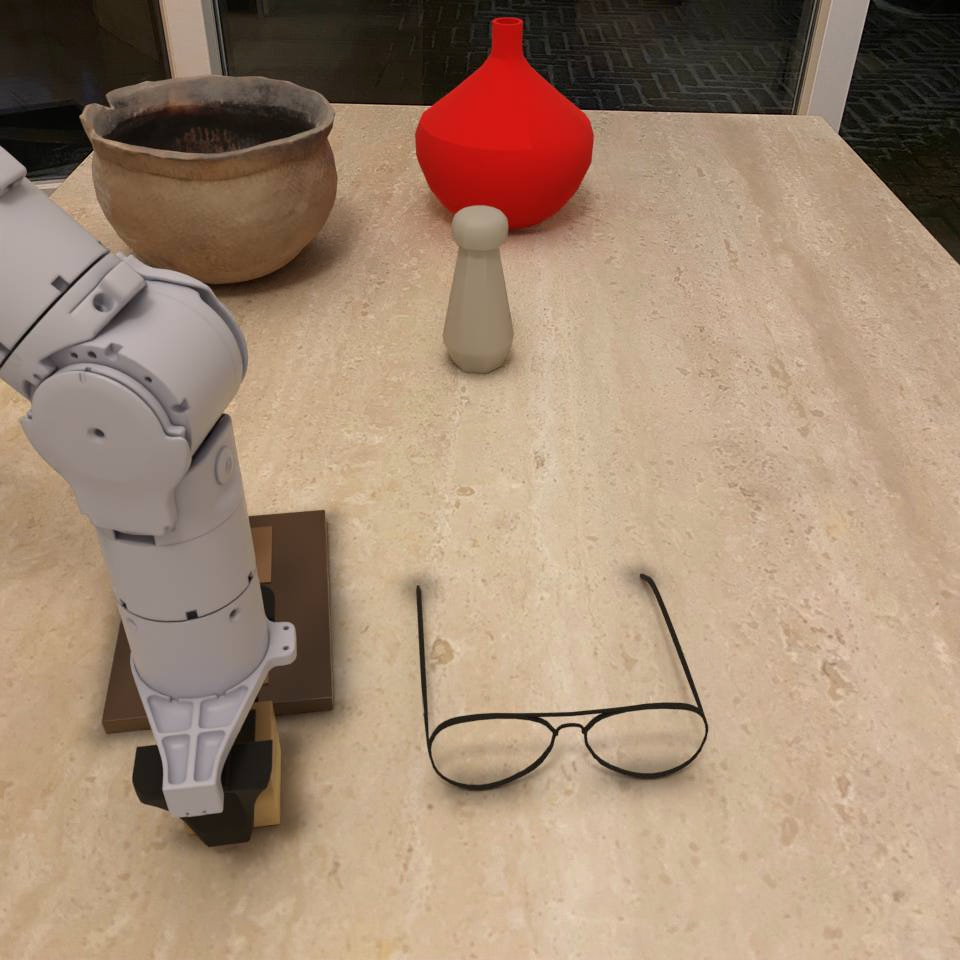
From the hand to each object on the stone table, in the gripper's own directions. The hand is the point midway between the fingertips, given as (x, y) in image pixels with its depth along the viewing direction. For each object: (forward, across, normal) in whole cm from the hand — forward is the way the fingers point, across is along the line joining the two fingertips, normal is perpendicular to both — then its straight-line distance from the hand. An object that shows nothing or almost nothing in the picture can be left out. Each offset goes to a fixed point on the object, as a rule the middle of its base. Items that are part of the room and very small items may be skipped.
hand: (232, 774), depth 49 cm
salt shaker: (+2, +40, -18) cm, 43 cm away
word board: (+1, +12, +1) cm, 13 cm away
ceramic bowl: (+2, +60, +3) cm, 61 cm away
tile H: (+1, 0, 0) cm, 1 cm away
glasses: (+2, +6, -17) cm, 18 cm away
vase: (+2, +70, -25) cm, 74 cm away
